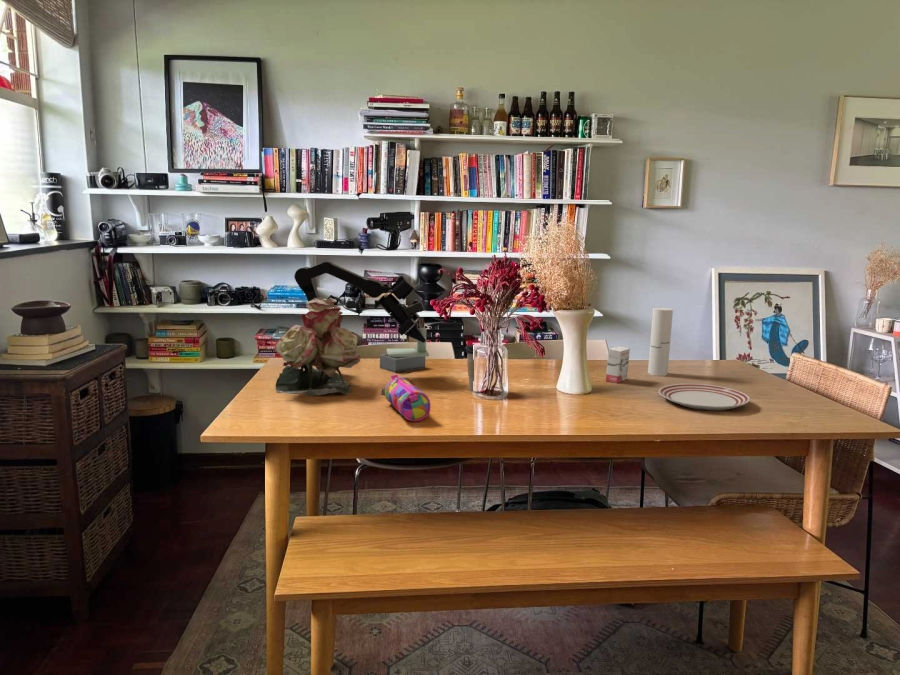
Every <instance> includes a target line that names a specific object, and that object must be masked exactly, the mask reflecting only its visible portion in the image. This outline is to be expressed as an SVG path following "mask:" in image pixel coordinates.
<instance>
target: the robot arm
mask: <svg viewBox="0 0 900 675" xmlns="http://www.w3.org/2000/svg"><path fill="white" fill-rule="evenodd" d="M324 274H328V275H329V276H332V277H335V278H337V279H339V280H342V281H343V282H345V283H348V284H350V285H352V286H354V287H356V288H358V290H360V291H361V292H362V293H364V294H365V295H367V296H369V297H370V298H374V299H375V300H374V309H377V308H379V307H381V308H382V309H383V311H385V312H386V313H387V314H388V315H389V316H390V317H389V318H390V319H391V320H394V322H396V324H398V328H397V333H398V334H399V335H400V336H401V337H403V336H407V337H410V338H411V339H415V340H416V341H417V340H419V341H421V342H423V343H424V342H425V341H426V342H427V337H426V340H425V338H424V337H423V335H422V334H421V332H420V331H419V329H418V328H421V326H420V315H419V314H418V313H421V312H423V311H425V309H426V308H425V306H424V303H423V302H422V301H421V300H418V299H414V300H413V301H412V304H411V305H408V306H407V305H406V304H402V303H401V302H400V301H401V300H405V299H407V298H408V297H409V296H410V295H411V294H412V293H413V292H414V291H415V290H416V287H415V286H414V284H413V283H412V282H411V281H410V280H409V279H408V278H405V276H404V275H400V276H399V277H398V278H397V280H396V281H395V282H394V283H393V284H386V283H384V282H383V281H381V280H380V279H375V278H371V277H365V276H362V275H360V274H358V273H355V272H353V271H351V270H348V269H346V268H345V267H342V266H339V265H337V264H335V263H333V262H332V261H330V260H326V261H323V262H321V263H320V264H317V265H314V266H312V267H309V266H304V267H300V268H298V269H297V270H296V271H295V273H294V276H293V277H294V280H295V282H296V284H297V285H298V287H299V289H300V290H301V292H303V293H304V295H305V297H306V300H307V302H309V301H312V300H313V299H314V298H321V297H320V294H319V292H318V282H317V277H320V276H322V275H324ZM390 291H391V292H390ZM388 292H389V293H388ZM387 293H388V294H387ZM385 294H387V295H385ZM379 297H380V298H379ZM376 298H379V299H376ZM416 320H417V321H416ZM335 373H337V374H339V373H338V372H337V371H336V372H335Z"/></svg>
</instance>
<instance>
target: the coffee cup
mask: <svg viewBox="0 0 900 675" xmlns="http://www.w3.org/2000/svg"><path fill="white" fill-rule="evenodd" d="M474 344H475V343H472V344H468V345H467V348H466V349H465V353H467V354H466V355H467V356H466V357H467V359H466V362H467V363H466V364H467V375H468V384H469V391H470V392H473V381H474V360H473V345H474Z"/></svg>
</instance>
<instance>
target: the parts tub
mask: <svg viewBox="0 0 900 675" xmlns="http://www.w3.org/2000/svg"><path fill="white" fill-rule="evenodd" d="M379 368H380V369H383V370H386V371H387V372H388V371H389V372H391V373H394V374H396V373H397V374H398V373H404V372H410V371H416V370H423V369H425V368H426V356H425V357H392V356H391V357H388V354H387V353H386V354H385V353H383V354H379Z"/></svg>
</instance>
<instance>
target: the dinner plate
mask: <svg viewBox="0 0 900 675" xmlns="http://www.w3.org/2000/svg"><path fill="white" fill-rule="evenodd" d="M658 394H659V395H660V396H661V397H663V398H665V399H666V400H668V401H670V402H673V403H675V404H677V405H679V404H680V406H682V405H683V406H682V407H685V406H686V408H689V407H691V408H690V409H694V408H696V409H695V410H701V409H705V410H704V411H727V410H731V409H735V408H736V409H737V408H739V407H742V406H745V405H746V404H749V402H750V401H751V398H750V396H749V395H747V394H746V393H744V392H741V391H740V390H738V389H737V390H736V389H733V388H729V387H725V386H719V385H713V384H707V383H706V384H704V383H674V384H668V385H664V386H663V387H660V388H659V389H658ZM726 409H727V410H726Z"/></svg>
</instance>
